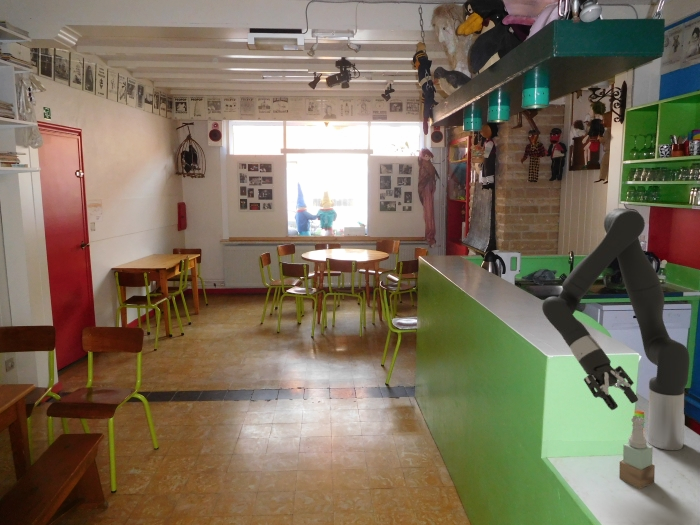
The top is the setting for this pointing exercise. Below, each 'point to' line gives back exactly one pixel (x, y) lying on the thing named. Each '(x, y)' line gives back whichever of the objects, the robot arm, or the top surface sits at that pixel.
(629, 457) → the sage top block
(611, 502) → the top surface
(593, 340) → the robot arm
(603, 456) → the top surface
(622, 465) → the walnut base block
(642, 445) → the rook chess piece
